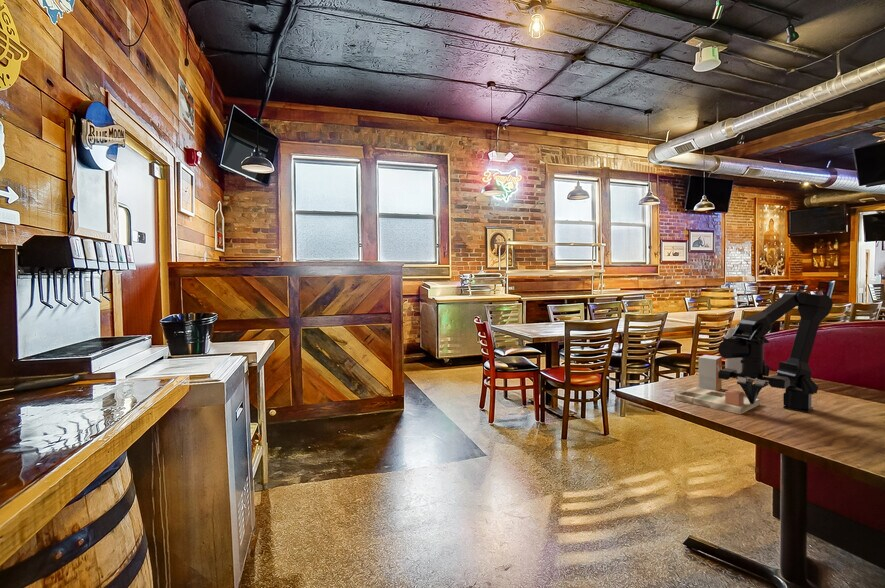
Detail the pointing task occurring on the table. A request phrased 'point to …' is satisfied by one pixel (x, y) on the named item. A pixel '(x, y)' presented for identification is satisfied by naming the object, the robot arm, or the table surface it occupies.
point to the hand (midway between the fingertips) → (752, 403)
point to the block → (734, 397)
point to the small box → (710, 372)
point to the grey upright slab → (733, 362)
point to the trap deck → (713, 400)
